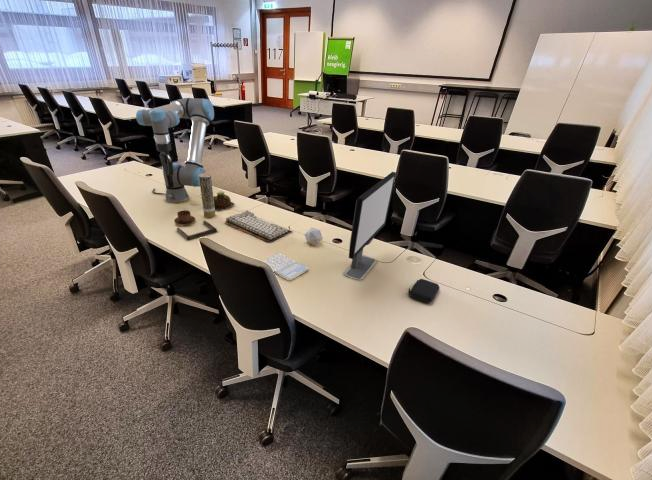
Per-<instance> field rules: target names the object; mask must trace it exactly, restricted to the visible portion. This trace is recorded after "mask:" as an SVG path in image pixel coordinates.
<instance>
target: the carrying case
mask: <svg viewBox="0 0 652 480" xmlns="http://www.w3.org/2000/svg"><path fill="white" fill-rule="evenodd" d="M439 290H440V286H439V284H438V283H437V282H433V281H431V280H427V279H424V278H420V279H417V280H416V281H415V282H414V284H413V286H412V287H411V288H408V293H407V294H408V295H409V296H410V298H412V299H415V300H418V301H420V302H423V303H426V304H430V303H432V302H433V301H434V299H435V298H436V296H437V294H438V292H439Z"/></svg>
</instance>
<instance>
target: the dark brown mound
mask: <svg viewBox="0 0 652 480" xmlns="http://www.w3.org/2000/svg"><path fill="white" fill-rule="evenodd" d="M213 198H214V206H215V211H223V210H227V209H229V208H231V207H233V206H235V203H234V202H232V200H231V197H230V196H229V195H227V194H226V193H225V192H224V191H223V190H221V191H218V192H216V196H213Z"/></svg>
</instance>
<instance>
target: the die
mask: <svg viewBox="0 0 652 480" xmlns="http://www.w3.org/2000/svg"><path fill="white" fill-rule="evenodd" d="M304 237H305V241H306V243H307V244H310V245H312V246H314V247H316V246H317V245H318V244H319V243H320V242H322V241H323V235H322V232H321V230H320V229H318V228H315V227H313V226H312V227H310V228H309V229H308V230H307V231H306V232H305V233H304Z"/></svg>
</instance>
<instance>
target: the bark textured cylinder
mask: <svg viewBox="0 0 652 480" xmlns="http://www.w3.org/2000/svg"><path fill="white" fill-rule="evenodd" d="M199 181H200V187H199V188H200V189H199V190H200V196H201V203H202V210H203V216H204V218H205V219H212V218H215V216H216V210H215V206H214V190H213V189H214V188H213V182H212V174H211V173H210V172H206V173H201V174H199Z"/></svg>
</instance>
